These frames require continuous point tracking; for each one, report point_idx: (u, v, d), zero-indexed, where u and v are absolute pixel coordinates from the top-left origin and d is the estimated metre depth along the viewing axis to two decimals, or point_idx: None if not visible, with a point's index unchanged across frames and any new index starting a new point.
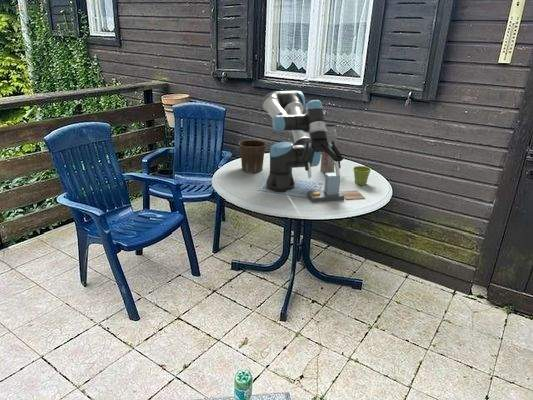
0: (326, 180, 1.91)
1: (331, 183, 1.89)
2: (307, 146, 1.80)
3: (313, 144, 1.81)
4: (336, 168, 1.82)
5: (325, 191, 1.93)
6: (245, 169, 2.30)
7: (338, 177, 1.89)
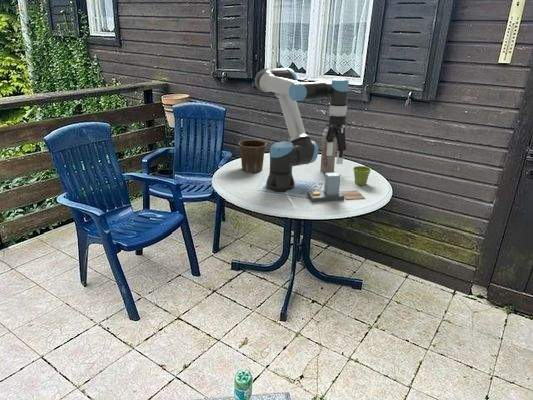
0: (326, 180, 1.91)
1: (331, 183, 1.89)
2: None
3: None
4: (330, 148, 1.92)
5: (325, 191, 1.93)
6: (245, 169, 2.30)
7: (338, 177, 1.89)
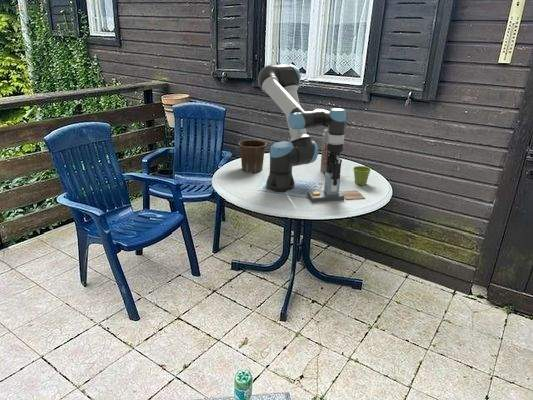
0: (326, 180, 1.91)
1: None
2: None
3: None
4: None
5: (325, 191, 1.93)
6: (245, 169, 2.30)
7: None
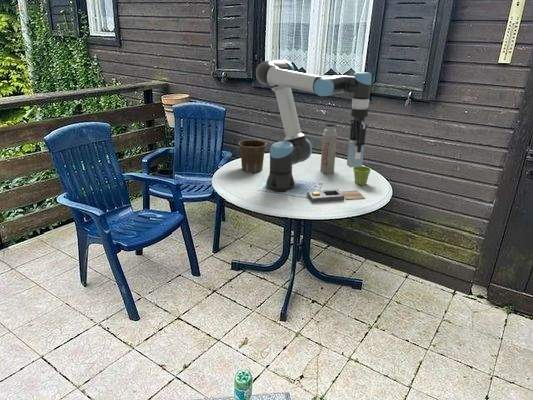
0: (350, 147, 1.87)
1: (354, 150, 1.85)
2: None
3: None
4: None
5: (348, 159, 1.89)
6: (245, 169, 2.30)
7: None
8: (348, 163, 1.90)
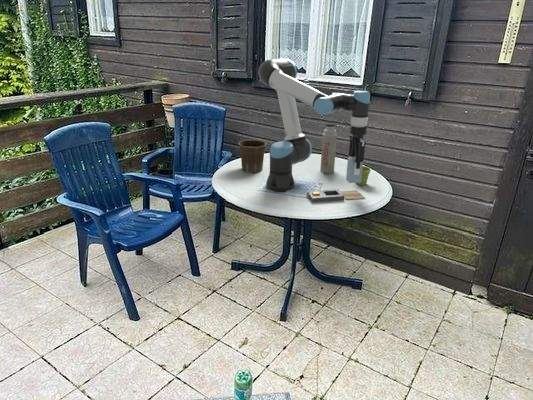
0: (349, 164, 1.90)
1: (353, 166, 1.89)
2: None
3: None
4: None
5: (347, 175, 1.93)
6: (245, 169, 2.30)
7: None
8: (347, 179, 1.94)
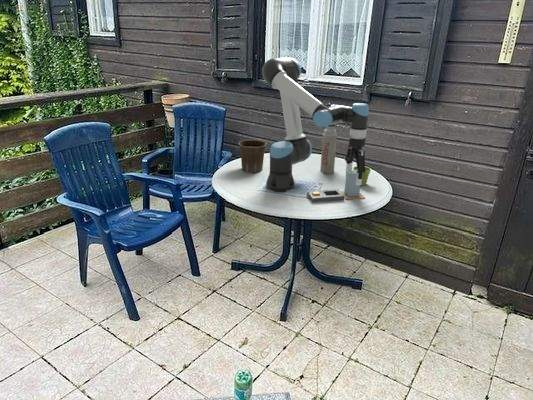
0: (347, 178, 1.93)
1: (352, 180, 1.92)
2: None
3: None
4: (349, 169, 1.98)
5: (346, 188, 1.96)
6: (245, 169, 2.30)
7: None
8: (345, 192, 1.97)
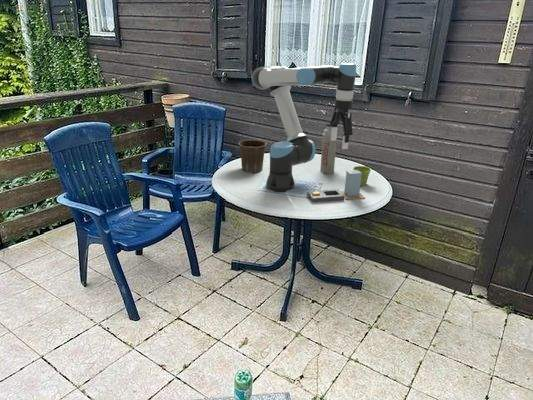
0: (347, 178, 1.93)
1: (352, 180, 1.92)
2: None
3: None
4: (334, 133, 1.92)
5: (346, 188, 1.96)
6: (245, 169, 2.30)
7: (359, 175, 1.91)
8: (345, 192, 1.97)
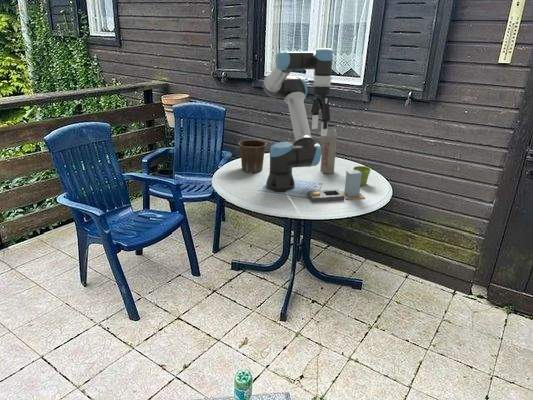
0: (347, 178, 1.93)
1: (352, 180, 1.92)
2: None
3: None
4: (315, 121, 1.89)
5: (346, 188, 1.96)
6: (245, 169, 2.30)
7: (359, 175, 1.91)
8: (345, 192, 1.97)
